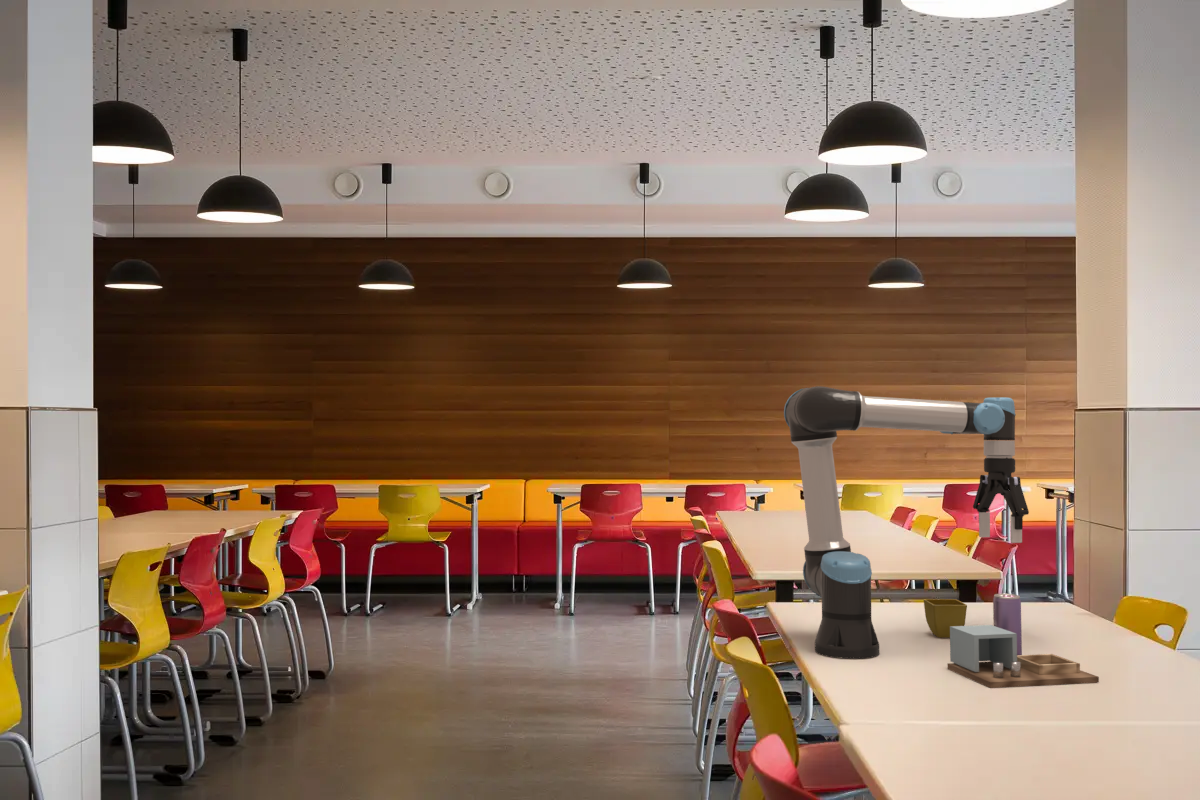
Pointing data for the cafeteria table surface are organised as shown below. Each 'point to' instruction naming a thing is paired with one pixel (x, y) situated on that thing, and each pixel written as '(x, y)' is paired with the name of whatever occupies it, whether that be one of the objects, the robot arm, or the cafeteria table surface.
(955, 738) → the cafeteria table surface
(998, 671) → the stubs
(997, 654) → the housing
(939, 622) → the flower pot
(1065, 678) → the base board
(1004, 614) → the beverage can
